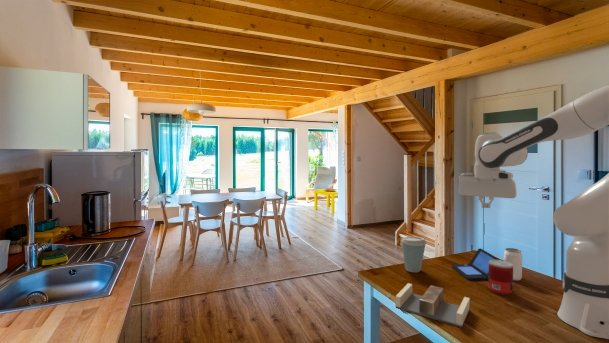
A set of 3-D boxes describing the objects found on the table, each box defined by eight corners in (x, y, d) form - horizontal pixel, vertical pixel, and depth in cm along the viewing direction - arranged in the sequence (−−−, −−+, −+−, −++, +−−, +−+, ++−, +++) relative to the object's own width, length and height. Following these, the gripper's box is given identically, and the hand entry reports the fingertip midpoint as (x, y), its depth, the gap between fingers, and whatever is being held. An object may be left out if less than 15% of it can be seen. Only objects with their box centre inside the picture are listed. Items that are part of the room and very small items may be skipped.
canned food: (516, 296, 116) (517, 267, 115) (492, 294, 118) (493, 265, 117) (507, 287, 123) (508, 260, 123) (485, 285, 125) (485, 258, 124)
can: (524, 281, 129) (525, 252, 128) (507, 280, 130) (508, 252, 129) (517, 275, 135) (517, 248, 134) (500, 274, 136) (501, 247, 135)
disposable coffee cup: (396, 269, 143) (396, 237, 142) (410, 263, 150) (410, 233, 149) (416, 276, 135) (417, 242, 134) (430, 270, 142) (430, 238, 141)
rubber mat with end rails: (469, 310, 106) (469, 298, 106) (461, 327, 96) (462, 314, 96) (408, 293, 119) (408, 283, 119) (395, 307, 109) (395, 296, 108)
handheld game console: (450, 267, 146) (451, 248, 145) (479, 266, 146) (479, 247, 145) (468, 281, 130) (468, 259, 129) (500, 280, 130) (500, 259, 129)
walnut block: (443, 288, 113) (433, 303, 102) (443, 299, 113) (433, 315, 102) (430, 285, 116) (419, 299, 105) (430, 295, 116) (419, 311, 105)
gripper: (456, 173, 129) (456, 206, 130) (516, 175, 117) (515, 211, 117) (459, 172, 134) (459, 204, 135) (517, 173, 122) (516, 208, 123)
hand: (485, 207), depth 126 cm, fingers closed
